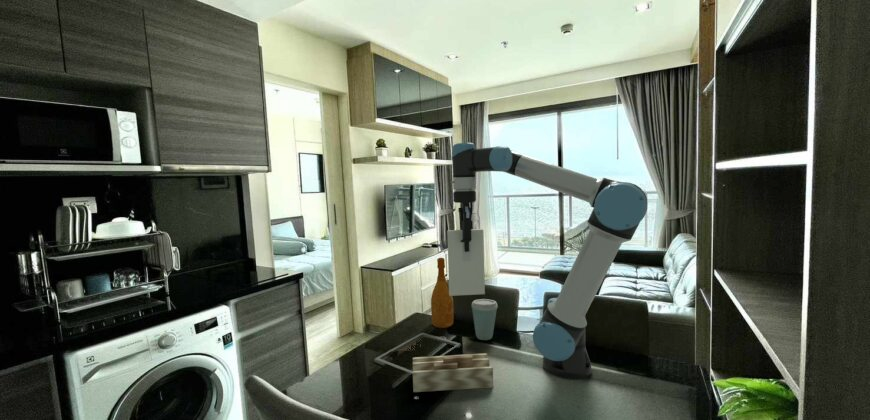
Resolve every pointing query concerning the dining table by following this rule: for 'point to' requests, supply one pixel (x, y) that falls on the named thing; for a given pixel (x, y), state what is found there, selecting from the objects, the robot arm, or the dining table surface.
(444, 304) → the wine bottle
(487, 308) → the disposable coffee cup
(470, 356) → the offcut near sheet
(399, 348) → the picture frame
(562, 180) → the robot arm
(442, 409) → the dining table surface
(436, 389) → the rack
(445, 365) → the offcut front
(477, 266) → the tall sheet
